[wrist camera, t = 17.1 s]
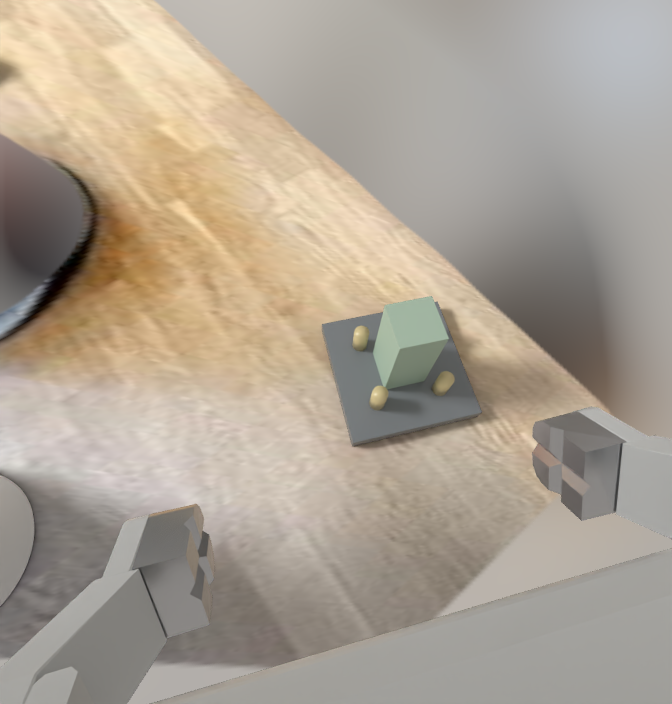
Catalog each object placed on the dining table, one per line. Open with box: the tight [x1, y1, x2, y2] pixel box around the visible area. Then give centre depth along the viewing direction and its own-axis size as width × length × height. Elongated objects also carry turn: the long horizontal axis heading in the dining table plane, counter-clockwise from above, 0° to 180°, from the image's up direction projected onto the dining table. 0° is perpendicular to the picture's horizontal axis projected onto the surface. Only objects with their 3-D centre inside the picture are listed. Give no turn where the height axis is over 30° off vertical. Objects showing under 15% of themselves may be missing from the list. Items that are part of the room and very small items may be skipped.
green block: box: [373, 296, 449, 389], centre depth 43 cm, size 4×4×10 cm
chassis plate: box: [322, 302, 482, 446], centre depth 47 cm, size 14×14×4 cm
